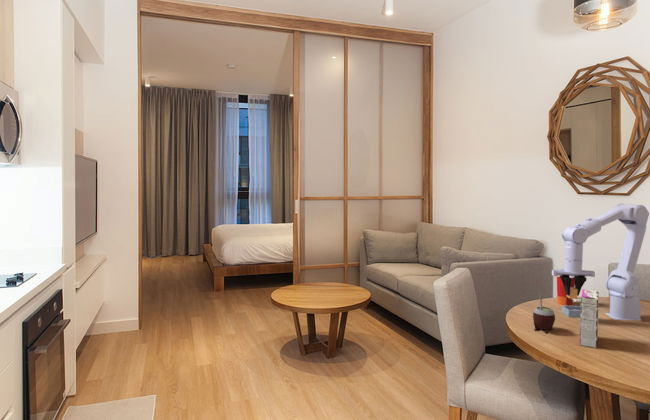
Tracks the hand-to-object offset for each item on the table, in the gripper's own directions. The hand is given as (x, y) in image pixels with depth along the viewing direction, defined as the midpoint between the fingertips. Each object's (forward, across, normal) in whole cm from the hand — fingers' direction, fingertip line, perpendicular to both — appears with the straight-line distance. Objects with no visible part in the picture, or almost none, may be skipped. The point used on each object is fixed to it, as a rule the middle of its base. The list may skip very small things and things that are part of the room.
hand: (572, 294), depth 165 cm
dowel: (+10, -5, -8) cm, 14 cm away
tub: (+10, -5, -8) cm, 14 cm away
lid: (+2, -4, 0) cm, 5 cm away
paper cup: (+10, -6, -22) cm, 26 cm away
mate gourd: (+10, +14, +12) cm, 21 cm away
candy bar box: (+10, +3, +21) cm, 23 cm away
